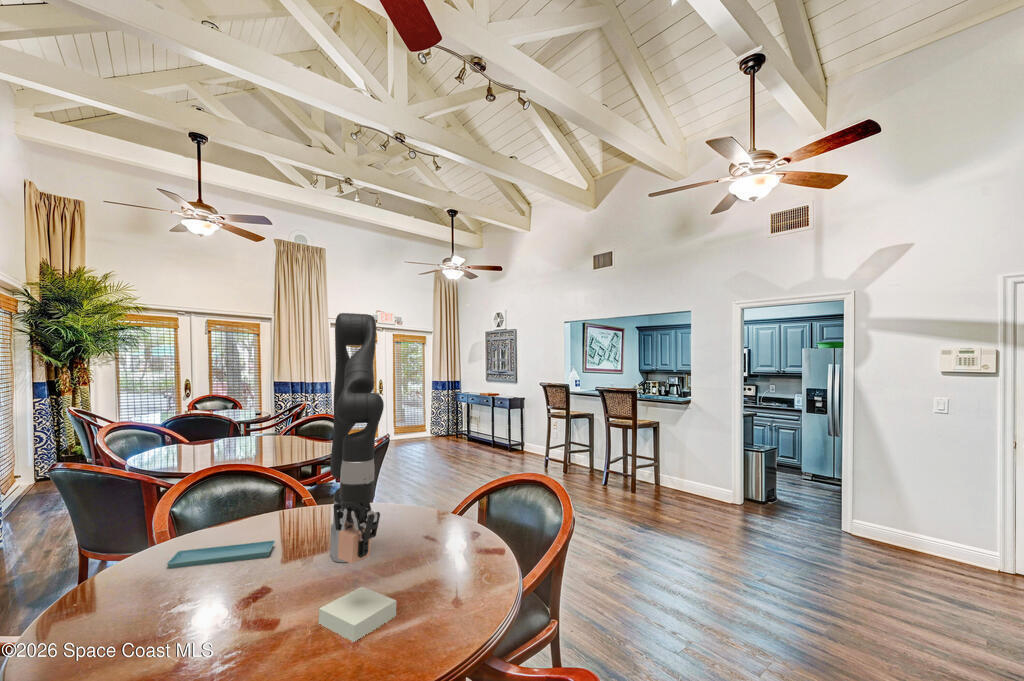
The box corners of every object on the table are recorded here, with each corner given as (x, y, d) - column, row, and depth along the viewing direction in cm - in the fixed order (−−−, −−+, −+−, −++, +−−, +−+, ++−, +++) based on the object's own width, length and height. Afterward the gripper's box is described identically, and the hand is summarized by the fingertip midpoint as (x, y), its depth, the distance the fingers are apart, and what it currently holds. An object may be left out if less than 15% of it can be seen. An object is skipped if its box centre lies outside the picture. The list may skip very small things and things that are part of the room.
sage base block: (318, 626, 100) (319, 608, 100) (361, 603, 110) (362, 586, 110) (353, 645, 94) (354, 625, 94) (395, 618, 104) (396, 600, 104)
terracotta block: (337, 558, 102) (338, 531, 102) (355, 550, 106) (356, 525, 106) (352, 563, 99) (353, 536, 99) (370, 555, 103) (371, 529, 103)
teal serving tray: (165, 571, 125) (165, 562, 125) (177, 558, 133) (178, 549, 133) (269, 559, 133) (270, 551, 133) (275, 547, 142) (275, 539, 142)
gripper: (324, 477, 104) (320, 551, 103) (364, 487, 96) (361, 567, 95) (350, 471, 110) (348, 540, 109) (391, 480, 103) (388, 555, 102)
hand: (354, 552), depth 102 cm, fingers closed on terracotta block, 5 cm apart
